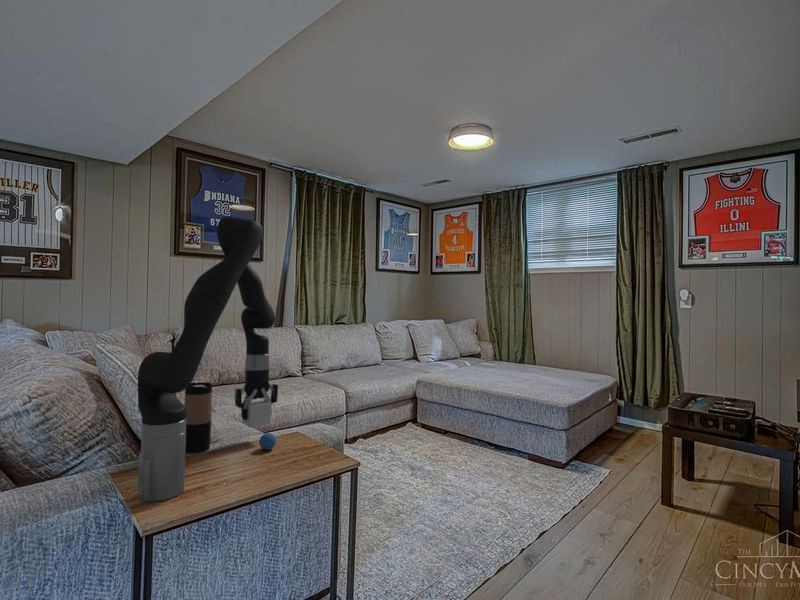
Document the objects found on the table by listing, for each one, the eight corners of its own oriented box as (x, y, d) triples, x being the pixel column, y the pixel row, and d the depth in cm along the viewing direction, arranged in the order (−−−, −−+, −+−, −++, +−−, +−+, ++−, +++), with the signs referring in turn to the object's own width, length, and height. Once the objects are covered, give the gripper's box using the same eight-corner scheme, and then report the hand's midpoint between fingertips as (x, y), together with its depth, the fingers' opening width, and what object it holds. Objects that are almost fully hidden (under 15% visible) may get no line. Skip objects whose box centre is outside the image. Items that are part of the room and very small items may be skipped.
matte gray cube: (249, 427, 134) (250, 406, 134) (242, 422, 139) (242, 402, 139) (270, 423, 139) (270, 403, 139) (262, 419, 144) (262, 399, 144)
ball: (263, 453, 128) (263, 436, 128) (256, 448, 131) (256, 432, 132) (278, 449, 131) (278, 433, 131) (271, 445, 135) (272, 430, 135)
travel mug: (185, 446, 132) (187, 382, 133) (212, 444, 135) (213, 382, 135) (180, 454, 125) (182, 387, 125) (208, 452, 127) (210, 386, 128)
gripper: (239, 371, 132) (238, 424, 131) (282, 367, 141) (281, 416, 141) (231, 368, 137) (230, 419, 137) (273, 364, 147) (272, 412, 147)
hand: (256, 417), depth 139 cm, fingers closed on matte gray cube, 7 cm apart
